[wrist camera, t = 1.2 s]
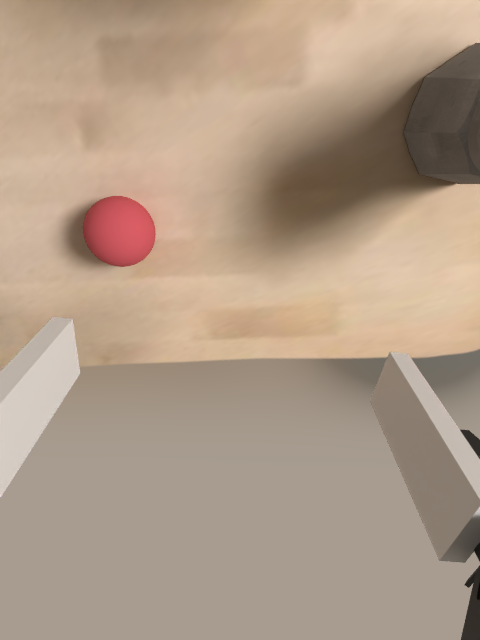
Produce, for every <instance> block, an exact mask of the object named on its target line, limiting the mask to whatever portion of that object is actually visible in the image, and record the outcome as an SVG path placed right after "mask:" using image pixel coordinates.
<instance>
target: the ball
mask: <svg viewBox="0 0 480 640" xmlns="http://www.w3.org/2000/svg"><path fill="white" fill-rule="evenodd" d="M83 233H84V238H85V241H86V243H87V245H88V247H89V249H90V250H91V252H92V253H93V254H94V255H95V256H96V257H97V258H99V259H100V260H101V261H103V262H105V263H107V264H110V265H113V266H120V267H124V266H131V265H134V264H137V263H138V262H140V261H142V260H143V259H144V258H145V257H146V256H147V255H148V254H149V253H150V252H151V250H152V248H153V245H154V242H155V226H154V223H153V220H152V218H151V216H150V214H149V213H148V212H147V210H146V209H145V208H144V207H143V206H142V205H140V204H139V203H138V202H136V201H134V200H132V199H130V198H127V197H122V196H111V197H107V198H104V199H101V200H100V201H98V202H96V203H95V204H94V205H93V206H92V207H91V208H90V209H89V211H88V212H87V214H86V217H85V220H84V225H83Z"/></svg>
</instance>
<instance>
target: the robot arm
mask: <svg viewBox="0 0 480 640" xmlns="http://www.w3.org/2000/svg"><path fill="white" fill-rule="evenodd" d="M79 375H80V368H79V361H78V354H77V346H76V339H75V332H74V325H73V319H69V318H60V317H52V318H51V319H50V321H49V322H48V323H47V324H46V325H45V326H44V327H43V328H42V329H41V330H40V331H39V332H38V333H37V334H36V335H35V336H34V337H33V338H32V339H31V340H30V341H29V342H28V343H27V345H26V346H25V347H24V348H23V349H22V350H21V351H20V352H19V353H18V354H17V355H16V356H15V357H14V358H13V359H12V360H11V361H10V362H9V363H8V364H7V365H6V366H5V367H4V369H3V370H2V371H1V372H0V497H1V496H2V494H3V493H4V491H5V489H6V488H7V486H8V485H9V483H10V482H11V480H12V479H13V477H14V476H15V474H16V473H17V471H18V469H19V468H20V466H21V465H22V463H23V462H24V460H25V459H26V457H27V455H28V454H29V452H30V451H31V449H32V448H33V446H34V445H35V443H36V441H37V440H38V438H39V437H40V435H41V434H42V432H43V431H44V429H45V427H46V425H47V424H48V423H49V421H50V420H51V418H52V417H53V415H54V413H55V412H56V410H57V409H58V407H59V406H60V404H61V402H62V401H63V399H64V398H65V396H66V394H67V393H68V392H69V390H70V388H71V387H72V385H73V384H74V382H75V381H76V379H77V378H78V376H79ZM370 402H371V405H372V407H373V409H374V412H375V414H376V416H377V419H378V421H379V423H380V425H381V428H382V430H383V432H384V435H385V437H386V439H387V442H388V444H389V446H390V448H391V451H392V452H393V455H394V457H395V460H396V462H397V465H398V467H399V469H400V471H401V474H402V476H403V478H404V481H405V483H406V485H407V487H408V490H409V492H410V494H411V497H412V499H413V501H414V504H415V506H416V508H417V510H418V513H419V515H420V517H421V520H422V522H423V524H424V526H425V529H426V531H427V533H428V536H429V538H430V540H431V543H432V545H433V547H434V549H435V552H436V554H437V556H438V558H439V560H440V561H451V562H463V563H464V562H466V560H467V559H468V558H469V557H470V555H471V554H472V553H473V552H474V551H475V553H476V555H477V557H478V559H479V561H480V440H479V439H478V438H477V437H476V436H475V435H474V434H472V433H471V432H470V431H469V430H459V428H458V427H457V425H456V424H455V422H454V421H453V419H452V418H451V416H450V415H449V414H448V412H447V411H446V409H445V408H444V406H443V405H442V403H441V402H440V400H439V399H438V397H437V396H436V394H435V393H434V392H433V390H432V389H431V387H430V386H429V384H428V383H427V381H426V380H425V378H424V377H423V375H422V374H421V373H420V371H419V370H418V368H417V367H416V365H415V364H414V362H413V361H412V359H411V358H410V356H409V355H408V354H407V353H397V352H389V355H388V357H387V360H386V362H385V365H384V368H383V370H382V373H381V375H380V378H379V380H378V383H377V385H376V388H375V390H374V393H373V396H372V398H371V401H370ZM473 583H474V584H473ZM472 584H473V588H472V592H471V597H470V601H469V606H468V610H467V615H466V619H465V624H464V628H463V633H462V637H461V640H480V566H479V567H478V568H477V569H476V571H475V572H474V573H473V574H472V575H471V577H470V578H469V579H468V580H467V582H466V583H465V585H466V586H467V587H470V586H471V585H472Z"/></svg>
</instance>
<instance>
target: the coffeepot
mask: <svg viewBox="0 0 480 640" xmlns="http://www.w3.org/2000/svg"><path fill="white" fill-rule="evenodd" d="M403 133H404V136H405V139H406V141H407V145H408V149H409V153H410V155H411V157H412V159H413V161H414V163H415V165H416V168H417V171H418V173H419V174H420V175H424V176H429V177H433V178H437V179H441V180H445V181H449V182H453V183H457V184H480V43H475V44H474V45H472V46H471V47H469V48H468V49H466V50H465V51H463V52H461V53H460V54H458V55H457V56H455V57H453V58H452V59H450V60H449V61H447V62H446V63H445V64H443V65H442V66H441V67H439V68H438V69H436V70H435V71H433V72H432V73H430V74H429V75H427V76H426V77H425V78H424V80H423V83H422V85H421V87H420V90H419V92H418V94H417V96H416V98H415V101H414V103H413V105H412V107H411V111H410V114H409V117H408V121H407V124H406V126H405V129H404V131H403Z"/></svg>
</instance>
